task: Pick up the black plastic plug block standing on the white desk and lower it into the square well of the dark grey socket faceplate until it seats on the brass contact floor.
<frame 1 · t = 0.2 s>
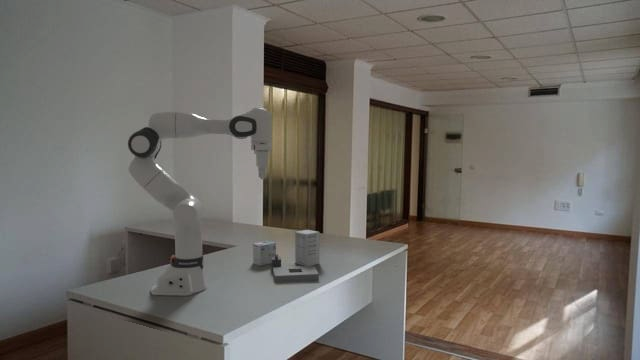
hand: (261, 178, 192), 47 cm above the table, fingers open, 8 cm apart
light bulb box: (264, 263, 232), on the table
plug: (276, 270, 219), on the table
supplement box: (307, 263, 232), on the table
socket plate: (295, 276, 209), on the table
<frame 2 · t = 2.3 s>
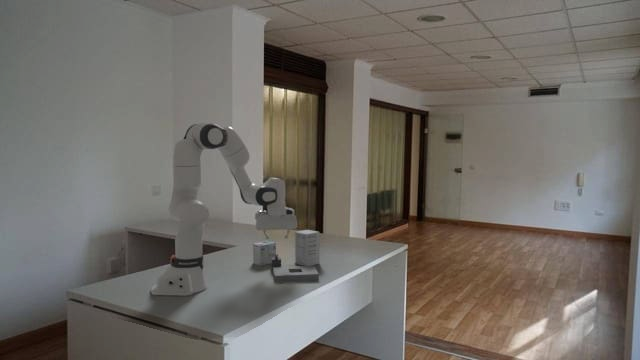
hand: (276, 238, 218), 16 cm above the table, fingers open, 8 cm apart
nothing on the table moved.
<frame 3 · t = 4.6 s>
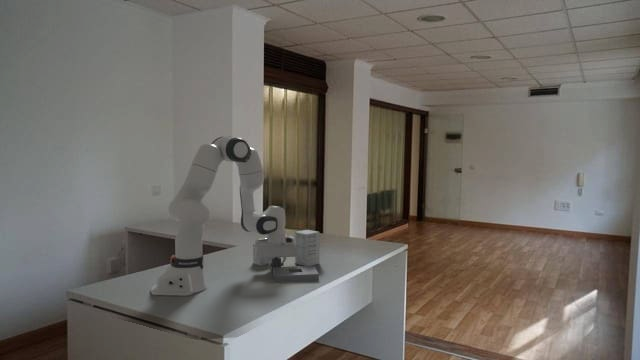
hand: (276, 265, 219), 2 cm above the table, fingers closed on plug, 4 cm apart
plug: (276, 270, 219), on the table, touching gripper
everything else where it was.
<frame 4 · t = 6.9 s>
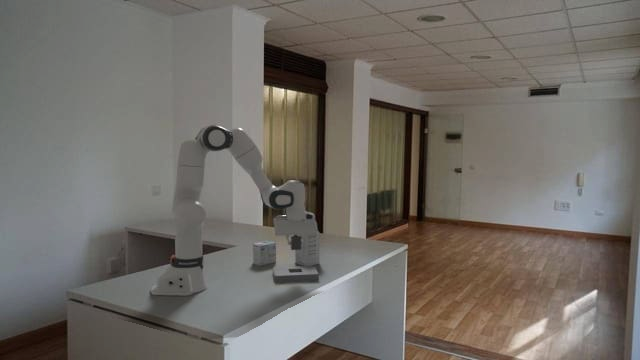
hand: (295, 244, 208), 16 cm above the table, fingers closed on plug, 4 cm apart
plug: (295, 248, 208), point 13 cm above the table, touching gripper
everything else where it was.
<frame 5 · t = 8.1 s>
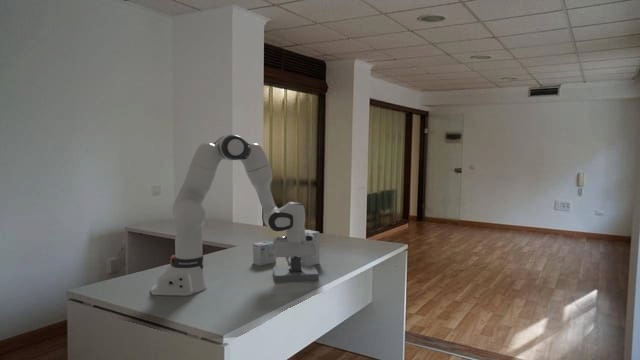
hand: (295, 265, 208), 5 cm above the table, fingers closed on plug, 4 cm apart
plug: (295, 269, 209), point 3 cm above the table, touching gripper
everything else where it was.
when the fingers open (4 cm above the table, at t = 9.2 s): plug stays where it is, resting on socket plate.
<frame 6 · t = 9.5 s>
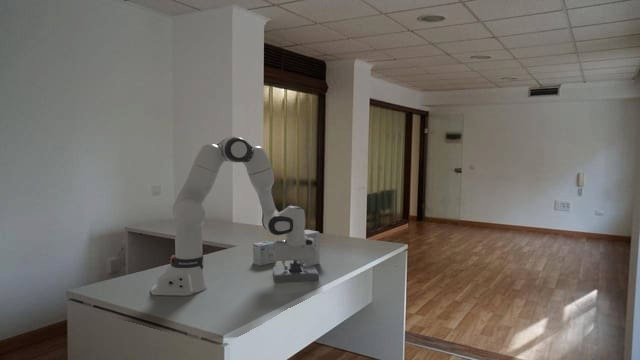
hand: (295, 269, 208), 4 cm above the table, fingers open, 8 cm apart
plug: (295, 275, 209), point 1 cm above the table, touching socket plate
everything else where it was.
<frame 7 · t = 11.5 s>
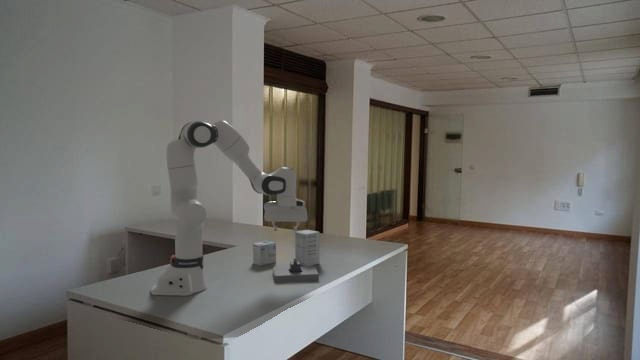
hand: (285, 230, 209), 21 cm above the table, fingers open, 8 cm apart
nothing on the table moved.
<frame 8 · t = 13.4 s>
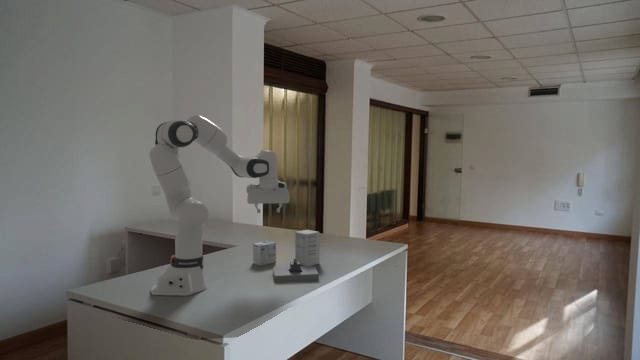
hand: (268, 212, 214), 29 cm above the table, fingers open, 8 cm apart
nothing on the table moved.
at the end: plug 0.1 cm off-centre on the socket plate, point 0.6 cm above the socket plate's base; plug tilted 0°; the gripper is holding nothing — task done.
